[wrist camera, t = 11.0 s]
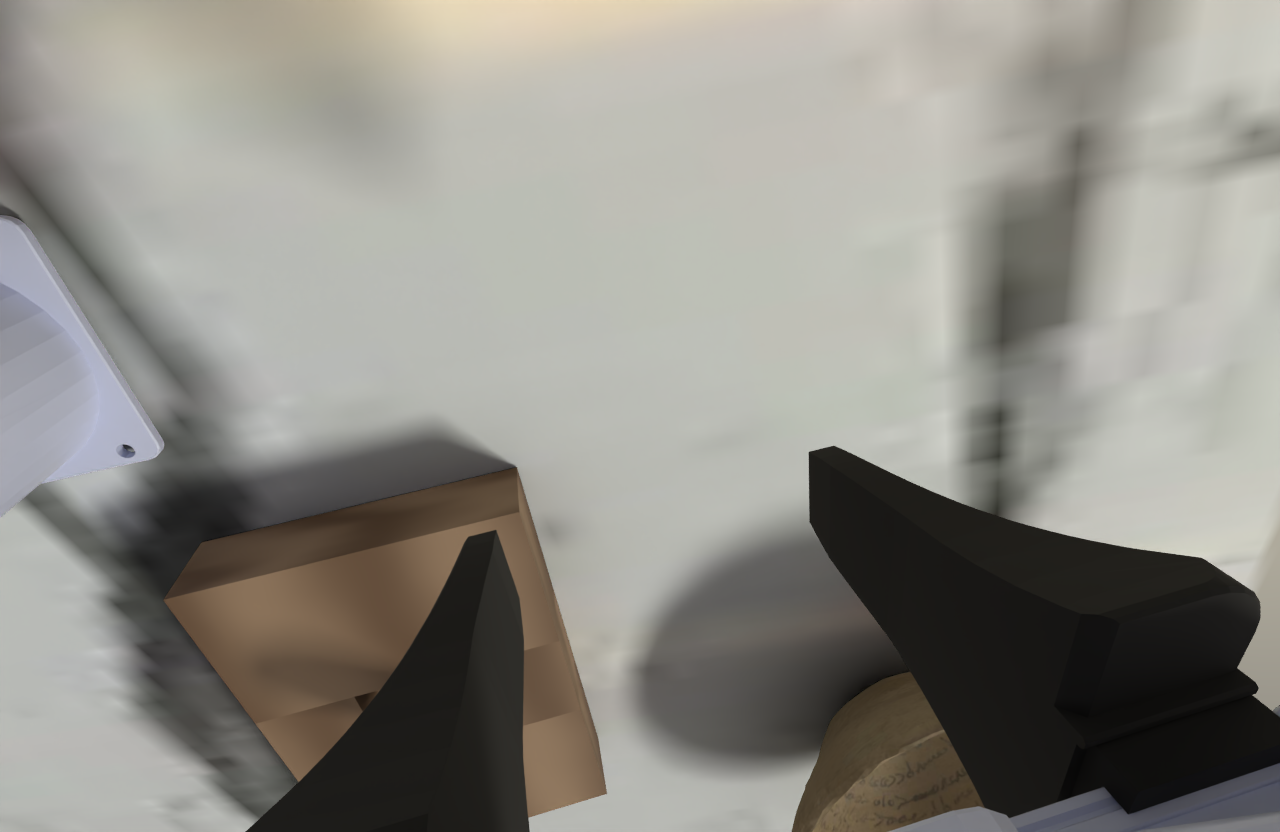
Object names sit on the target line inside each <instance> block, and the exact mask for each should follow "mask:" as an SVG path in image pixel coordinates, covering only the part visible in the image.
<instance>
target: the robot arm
mask: <svg viewBox="0 0 1280 832" xmlns="http://www.w3.org/2000/svg"><path fill="white" fill-rule="evenodd" d="M123 444H126V445H129V446H131V447H132V448H133V449H134V450H135V452H130V451H128V450H126V449H125V448H124V447H123ZM163 449H164V442H163V439H162V437H161V436H160V434H159V433H158V431H157V430H156V428H155V426H154V425H153V423H152V422H151V420H150V418H149V417H148V415H147V414H146V412H145V411H144V409H143V407H142V406H141V404H140V403H139V401H138V399H137V398H136V396H135V395H134V393H133V392H132V390H131V388H130V387H129V385H128V384H127V382H126V380H125V379H124V377H123V376H122V374H121V372H120V371H119V369H118V368H117V366H116V365H115V363H114V361H113V360H112V358H111V357H110V355H109V353H108V352H107V350H106V349H105V347H104V346H103V344H102V342H101V341H100V339H99V338H98V336H97V334H96V333H95V331H94V330H93V328H92V327H91V325H90V323H89V322H88V320H87V319H86V317H85V315H84V314H83V312H82V311H81V309H80V308H79V306H78V304H77V303H76V301H75V300H74V298H73V296H72V295H71V293H70V292H69V290H68V288H67V287H66V285H65V284H64V282H63V281H62V279H61V277H60V276H59V274H58V273H57V271H56V269H55V268H54V266H53V265H52V263H51V262H50V260H49V258H48V257H47V255H46V254H45V252H44V250H43V249H42V247H41V246H40V244H39V243H38V241H37V239H36V238H35V236H34V235H33V233H32V231H31V230H30V229H29V228H28V227H27V225H26V224H25V223H23V222H22V221H20V220H19V219H17V218H14V217H11V216H8V215H0V518H1V517H2V516H3V515H4V514H5V513H6V512H8V511H9V510H10V509H11V508H12V507H14V506H15V505H16V504H17V503H18V502H19V501H21V500H22V499H23V498H24V497H25V496H27V495H28V494H29V493H30V492H31V491H32V490H34V489H35V488H36V487H37V486H38V485H40V484H42V483H46V482H51V481H55V480H60V479H64V478H69V477H73V476H78V475H82V474H87V473H91V472H96V471H100V470H105V469H109V468H114V467H118V466H123V465H127V464H132V463H136V462H141V461H145V460H150V459H153V458H155V457H156V456H157V455H158V454H159V453H160V452H161V451H162V450H163ZM809 509H810V523H811V525H812V527H813V529H814V531H815V533H816V535H817V536H818V538H819V540H820V542H821V544H822V545H823V547H824V549H825V551H826V552H827V554H828V556H829V558H830V559H831V561H832V562H833V563H834V565H835V566H836V567H837V569H838V570H839V572H840V573H841V574H842V576H843V577H844V578H845V580H846V581H847V582H848V584H849V585H850V586H851V588H852V589H853V590H854V592H855V593H856V594H857V596H858V597H859V598H860V600H861V601H862V602H863V604H864V605H865V606H866V608H867V609H868V610H869V612H870V613H871V614H872V616H873V617H874V618H875V620H876V621H877V622H878V624H879V625H880V626H881V628H882V629H883V630H884V632H885V633H886V634H887V636H888V637H889V639H890V640H891V642H892V643H893V645H894V646H895V648H896V649H897V650H898V652H899V654H900V655H901V657H902V659H903V660H904V662H905V664H906V665H907V667H908V669H909V670H910V672H911V674H912V675H913V677H914V679H915V680H916V682H917V684H918V685H919V687H920V689H921V690H922V692H923V694H924V696H925V697H926V699H927V701H928V703H929V704H930V706H931V708H932V710H933V711H934V713H935V715H936V717H937V718H938V720H939V722H940V724H941V725H942V727H943V729H944V731H945V732H946V734H947V736H948V738H949V740H950V742H951V744H952V746H953V747H954V749H955V751H956V753H957V755H958V757H959V759H960V760H961V762H962V764H963V766H964V768H965V770H966V772H967V774H968V775H969V777H970V779H971V781H972V783H973V785H974V787H975V789H976V791H977V793H978V795H979V797H980V799H981V801H982V803H983V805H984V807H985V808H982V807H979V806H977V807H972V808H966V809H960V810H954V811H950V812H947V813H944V814H941V815H937V816H934V817H931V818H928V819H925V820H922V821H919V822H916V823H913V824H910V825H907V826H904V827H901V828H898V829H895V830H892V831H889V832H1280V705H1279V706H1278V707H1276V708H1275V709H1274V710H1273V711H1271V710H1270V709H1269V708H1268V707H1266V706H1265V705H1264V704H1262V703H1261V702H1260V701H1259V700H1257V699H1256V698H1255V697H1254V696H1252V695H1253V694H1256V692H1257V691H1258V686H1257V684H1256V683H1255V682H1254V681H1253V680H1252V679H1250V678H1249V677H1248V676H1246V675H1245V674H1244V673H1243V672H1241V671H1240V670H1239V669H1237V667H1238V665H1239V663H1240V661H1241V659H1242V657H1243V655H1244V653H1245V651H1246V649H1247V647H1248V645H1249V643H1250V641H1251V639H1252V637H1253V635H1254V633H1255V632H1256V628H1257V626H1258V623H1259V621H1260V601H1259V599H1258V598H1257V596H1256V594H1255V593H1254V592H1253V591H1252V590H1250V589H1248V588H1247V587H1245V586H1244V585H1242V584H1241V583H1239V582H1238V581H1236V580H1235V579H1233V578H1232V577H1230V576H1229V575H1227V574H1226V573H1224V572H1223V571H1221V570H1220V569H1218V568H1217V567H1215V566H1214V565H1212V564H1211V563H1209V562H1207V561H1206V560H1204V559H1203V558H1198V557H1191V556H1184V555H1176V554H1169V553H1161V552H1154V551H1147V550H1139V549H1133V548H1127V547H1121V546H1116V545H1111V544H1106V543H1100V542H1095V541H1090V540H1085V539H1081V538H1076V537H1072V536H1067V535H1063V534H1059V533H1055V532H1051V531H1047V530H1043V529H1040V528H1036V527H1032V526H1028V525H1025V524H1021V523H1018V522H1014V521H1011V520H1008V519H1005V518H1002V517H999V516H996V515H993V514H990V513H987V512H984V511H981V510H977V509H975V508H972V507H969V506H967V505H964V504H961V503H959V502H956V501H954V500H951V499H949V498H946V497H944V496H941V495H939V494H937V493H934V492H932V491H929V490H927V489H925V488H923V487H920V486H918V485H916V484H914V483H911V482H909V481H907V480H905V479H903V478H901V477H899V476H896V475H894V474H892V473H890V472H888V471H886V470H884V469H882V468H880V467H878V466H876V465H874V464H872V463H870V462H867V461H865V460H863V459H861V458H859V457H857V456H855V455H853V454H851V453H849V452H847V451H845V450H842V449H840V448H838V447H835V446H831V447H827V448H823V449H819V450H815V451H811V452H809ZM523 693H524V635H523V625H522V616H521V607H520V598H519V595H518V592H517V589H516V586H515V583H514V580H513V577H512V574H511V572H510V569H509V566H508V563H507V560H506V557H505V554H504V551H503V548H502V545H501V542H500V539H499V536H498V533H497V530H493V531H489V532H485V533H481V534H477V535H473V536H469V537H468V538H467V539H466V541H465V542H464V544H463V547H462V549H461V551H460V553H459V556H458V558H457V560H456V562H455V564H454V566H453V569H452V571H451V573H450V575H449V577H448V579H447V581H446V583H445V585H444V587H443V589H442V591H441V593H440V595H439V597H438V598H437V600H436V602H435V604H434V606H433V608H432V610H431V612H430V614H429V615H428V617H427V619H426V621H425V622H424V624H423V626H422V627H421V629H420V631H419V632H418V634H417V636H416V637H415V639H414V641H413V642H412V644H411V646H410V647H409V649H408V650H407V652H406V654H405V655H404V657H403V658H402V660H401V661H400V663H399V664H398V666H397V667H396V669H395V670H394V671H393V673H392V674H391V676H390V677H389V678H388V680H387V681H386V683H385V684H384V685H383V687H382V688H381V689H380V691H379V692H378V693H377V695H376V696H375V697H374V699H373V700H372V701H371V702H370V704H369V705H368V706H367V707H366V708H365V710H364V711H363V712H362V713H361V714H360V716H359V717H358V718H357V719H356V720H355V722H354V723H353V724H352V725H351V727H350V728H349V729H348V730H347V731H346V733H345V734H344V735H343V736H342V737H341V738H340V739H339V740H338V741H337V743H336V744H335V745H334V746H333V747H332V748H331V749H330V750H329V751H328V752H327V753H326V755H325V756H324V757H323V758H322V759H321V760H320V761H319V762H318V763H317V764H316V765H315V766H314V767H313V768H312V769H311V770H310V771H309V772H308V773H307V774H306V775H305V776H304V777H303V778H302V779H301V780H300V781H299V782H298V783H297V784H296V785H295V786H294V787H293V788H292V789H291V790H290V791H289V792H288V793H287V794H286V795H285V796H284V797H283V798H282V799H281V800H279V801H278V802H277V803H276V804H275V805H274V806H273V807H272V808H271V809H270V810H269V811H268V812H267V813H265V814H264V815H263V816H262V817H261V818H260V819H259V820H258V821H257V822H256V823H255V824H254V825H252V826H251V827H250V828H249V829H248V830H247V831H246V832H530V831H529V821H528V810H527V799H526V786H525V774H524V762H523Z"/></svg>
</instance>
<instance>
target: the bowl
mask: <svg viewBox="0 0 1280 832" xmlns="http://www.w3.org/2000/svg"><path fill="white" fill-rule="evenodd" d="M977 806H979V807H982V808H985V807H984V805H983V803H982V801H981V799H980V797H979V795H978V793H977V791H976V789H975V787H974V785H973V783H972V781H971V779H970V777H969V775H968V774H967V772H966V770H965V768H964V766H963V764H962V762H961V760H960V759H959V757H958V755H957V753H956V751H955V749H954V747H953V746H952V744H951V742H950V740H949V738H948V736H947V734H946V732H945V731H944V729H943V727H942V725H941V724H940V722H939V720H938V718H937V717H936V715H935V713H934V711H933V710H932V708H931V706H930V704H929V703H928V701H927V699H926V697H925V696H924V694H923V692H922V690H921V689H920V687H919V685H918V684H917V682H916V680H915V679H914V677H913V675H912V674H911V672H907V673H902V674H898V675H894V676H891V677H888V678H884V679H882V680H880V681H878V682H877V683H875V684H873V685H871V686H870V687H868V688H867V689H865V690H864V691H862V692H861V693H860V694H858V695H857V696H855V697H854V698H853V699H852V700H850V701H849V702H848V703H846V704H845V705H844V706H843V707H842V708H841V709H840V710H839V711H838V712H837V714H836V715H835V716H834V717H833V718H832V720H831V721H830V723H829V725H828V728H827V731H826V734H825V736H824V739H823V742H822V745H821V749H820V753H819V757H818V760H817V763H816V765H815V767H814V769H813V771H812V774H811V776H810V779H809V780H808V782H807V784H806V787H805V791H804V793H803V796H802V798H801V801H800V804H799V806H798V809H797V813H796V816H795V820H794V824H793V828H792V832H889V831H892V830H895V829H898V828H901V827H904V826H907V825H910V824H913V823H916V822H919V821H922V820H925V819H928V818H931V817H934V816H937V815H941V814H944V813H947V812H950V811H954V810H960V809H966V808H972V807H977Z"/></svg>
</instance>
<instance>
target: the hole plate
mask: <svg viewBox="0 0 1280 832" xmlns="http://www.w3.org/2000/svg"><path fill="white" fill-rule="evenodd" d="M493 530H497V533H498V536H499V539H500V542H501V545H502V548H503V551H504V554H505V557H506V560H507V563H508V566H509V569H510V572H511V574H512V577H513V580H514V583H515V586H516V589H517V592H518V595H519V598H520V607H521V616H522V625H523V635H524V693H523V762H524V774H525V786H526V799H527V810H528V817H532V816H535V815H538V814H542V813H545V812H548V811H551V810H555V809H558V808H561V807H565V806H568V805H571V804H574V803H578V802H581V801H584V800H588V799H591V798H594V797H597V796H601V795H604V794H607V791H606V785H605V779H604V773H603V766H602V760H601V754H600V747H599V741H598V737H597V733H596V730H595V727H594V723H593V720H592V717H591V713H590V710H589V707H588V703H587V700H586V697H585V693H584V690H583V687H582V683H581V680H580V677H579V673H578V670H577V667H576V663H575V660H574V657H573V653H572V650H571V647H570V643H569V640H568V637H567V633H566V630H565V627H564V623H563V620H562V617H561V613H560V610H559V607H558V603H557V600H556V597H555V593H554V590H553V587H552V583H551V580H550V577H549V573H548V570H547V567H546V563H545V560H544V557H543V553H542V550H541V547H540V543H539V540H538V537H537V533H536V530H535V526H534V523H533V520H532V516H531V513H530V510H529V506H528V503H527V500H526V496H525V493H524V490H523V486H522V483H521V480H520V476H519V473H518V470H517V467H516V468H512V469H508V470H503V471H499V472H495V473H491V474H487V475H482V476H478V477H474V478H470V479H466V480H461V481H457V482H453V483H449V484H445V485H441V486H436V487H432V488H428V489H424V490H420V491H415V492H411V493H407V494H403V495H399V496H394V497H390V498H386V499H382V500H378V501H374V502H369V503H365V504H361V505H357V506H353V507H348V508H344V509H340V510H336V511H332V512H327V513H323V514H319V515H315V516H311V517H306V518H302V519H298V520H294V521H290V522H286V523H281V524H277V525H273V526H269V527H265V528H260V529H256V530H252V531H248V532H244V533H239V534H235V535H231V536H227V537H223V538H218V539H214V540H210V541H206V542H202V543H201V544H200V545H199V547H198V548H197V550H196V551H195V553H194V554H193V556H192V557H191V559H190V560H189V562H188V563H187V565H186V566H185V568H184V569H183V571H182V572H181V574H180V575H179V577H178V578H177V580H176V581H175V583H174V584H173V586H172V587H171V589H170V590H169V592H168V593H167V595H166V596H165V598H164V599H163V600H164V602H165V603H166V604H167V606H168V607H169V608H170V610H171V611H172V612H173V614H174V615H175V616H176V618H177V619H178V620H179V622H180V623H181V624H182V626H183V627H184V629H185V630H186V631H187V633H188V634H189V635H190V637H191V638H192V639H193V641H194V642H195V643H196V645H197V646H198V647H199V649H200V650H201V651H202V653H203V654H204V655H205V657H206V658H207V659H208V661H209V662H210V663H211V665H212V666H213V667H214V669H215V670H216V671H217V673H218V674H219V675H220V677H221V678H222V680H223V681H224V682H225V684H226V685H227V686H228V688H229V689H230V690H231V692H232V693H233V694H234V696H235V697H236V698H237V700H238V701H239V702H240V704H241V705H242V706H243V708H244V709H245V710H246V712H247V713H248V714H249V716H250V717H251V718H252V720H253V721H254V722H255V724H256V725H257V726H258V728H259V729H260V731H261V732H262V733H263V735H264V736H265V737H266V739H267V740H268V741H269V743H270V744H271V745H272V747H273V748H274V749H275V751H276V752H277V753H278V755H279V756H280V757H281V759H282V760H283V761H284V763H285V764H286V765H287V767H288V768H289V769H290V771H291V772H292V773H293V775H294V776H295V778H296V779H297V780H298V782H299V781H300V780H301V779H302V778H303V777H304V776H305V775H306V774H307V773H308V772H309V771H310V770H311V769H312V768H313V767H314V766H315V765H316V764H317V763H318V762H319V761H320V760H321V759H322V758H323V757H324V756H325V755H326V753H327V752H328V751H329V750H330V749H331V748H332V747H333V746H334V745H335V744H336V743H337V741H338V740H339V739H340V738H341V737H342V736H343V735H344V734H345V733H346V731H347V730H348V729H349V728H350V727H351V725H352V724H353V723H354V722H355V720H356V719H357V718H358V717H359V716H360V714H361V713H362V712H363V711H364V710H365V708H366V707H367V706H368V705H369V704H370V702H371V701H372V700H373V699H374V697H375V696H376V695H377V693H378V692H379V691H380V689H381V688H382V687H383V685H384V684H385V683H386V681H387V680H388V678H389V677H390V676H391V674H392V673H393V671H394V670H395V669H396V667H397V666H398V664H399V663H400V661H401V660H402V658H403V657H404V655H405V654H406V652H407V650H408V649H409V647H410V646H411V644H412V642H413V641H414V639H415V637H416V636H417V634H418V632H419V631H420V629H421V627H422V626H423V624H424V622H425V621H426V619H427V617H428V615H429V614H430V612H431V610H432V608H433V606H434V604H435V602H436V600H437V598H438V597H439V595H440V593H441V591H442V589H443V587H444V585H445V583H446V581H447V579H448V577H449V575H450V573H451V571H452V569H453V566H454V564H455V562H456V560H457V558H458V556H459V553H460V551H461V549H462V547H463V544H464V542H465V541H466V539H467V538H468V537H469V536H473V535H477V534H481V533H485V532H489V531H493Z"/></svg>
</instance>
